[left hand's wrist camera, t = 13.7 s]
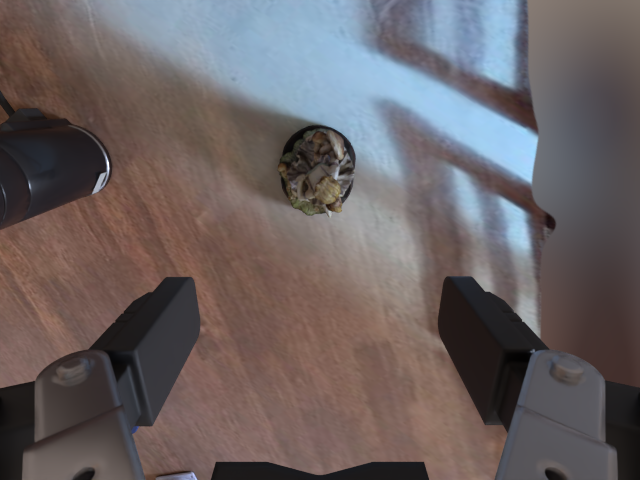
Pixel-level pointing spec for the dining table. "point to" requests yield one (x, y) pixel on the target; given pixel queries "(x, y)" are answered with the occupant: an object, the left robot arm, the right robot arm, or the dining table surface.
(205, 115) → the dining table surface
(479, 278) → the dining table surface
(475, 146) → the dining table surface
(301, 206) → the figurine
